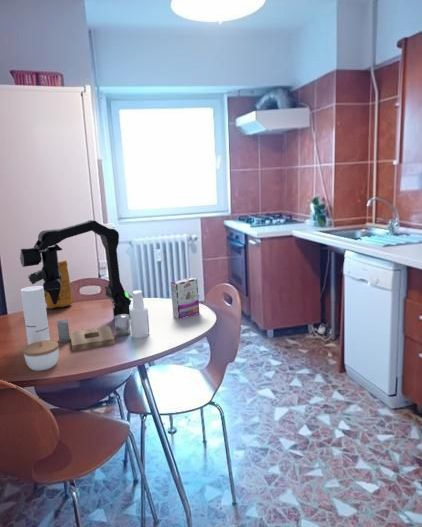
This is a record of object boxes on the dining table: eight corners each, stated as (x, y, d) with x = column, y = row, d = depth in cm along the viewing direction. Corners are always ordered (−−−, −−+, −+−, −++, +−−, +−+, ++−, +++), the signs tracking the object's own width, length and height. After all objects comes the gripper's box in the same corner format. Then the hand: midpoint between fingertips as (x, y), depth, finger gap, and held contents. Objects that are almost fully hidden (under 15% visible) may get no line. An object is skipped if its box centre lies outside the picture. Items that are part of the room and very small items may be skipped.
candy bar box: (193, 312, 191) (191, 276, 188) (199, 314, 187) (198, 278, 184) (172, 318, 184) (170, 281, 181) (178, 320, 180) (176, 283, 177)
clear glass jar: (129, 332, 169) (127, 313, 168) (132, 336, 164) (130, 317, 163) (115, 334, 167) (113, 315, 166) (117, 339, 162) (115, 319, 161)
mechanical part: (129, 301, 213) (127, 286, 211) (117, 302, 212) (115, 287, 210) (128, 295, 224) (126, 280, 223) (116, 296, 223) (115, 281, 222)
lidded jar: (25, 365, 142) (22, 339, 140) (59, 359, 146) (56, 333, 145) (26, 378, 133) (22, 350, 131) (62, 371, 137) (59, 344, 135)
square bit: (69, 339, 165) (67, 319, 163) (70, 342, 161) (67, 322, 159) (59, 340, 163) (57, 321, 162) (59, 344, 160) (57, 324, 158)
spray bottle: (152, 334, 166) (149, 289, 163) (144, 340, 160) (141, 294, 156) (137, 332, 168) (133, 288, 165) (128, 339, 162) (124, 293, 158)
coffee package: (45, 304, 213) (39, 261, 209) (70, 300, 218) (65, 258, 214) (47, 309, 204) (41, 265, 200) (73, 305, 210) (68, 261, 205)
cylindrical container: (33, 354, 152) (24, 286, 147) (54, 352, 152) (46, 285, 147) (27, 362, 145) (17, 291, 140) (48, 361, 145) (39, 290, 140)
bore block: (109, 333, 169) (109, 325, 169) (115, 346, 156) (114, 338, 155) (71, 339, 164) (70, 332, 164) (73, 353, 151) (72, 345, 150)
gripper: (30, 260, 172) (35, 298, 175) (26, 269, 154) (31, 310, 157) (59, 258, 175) (63, 294, 178) (58, 266, 158) (63, 306, 161)
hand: (55, 301), depth 169 cm, fingers open, 9 cm apart
